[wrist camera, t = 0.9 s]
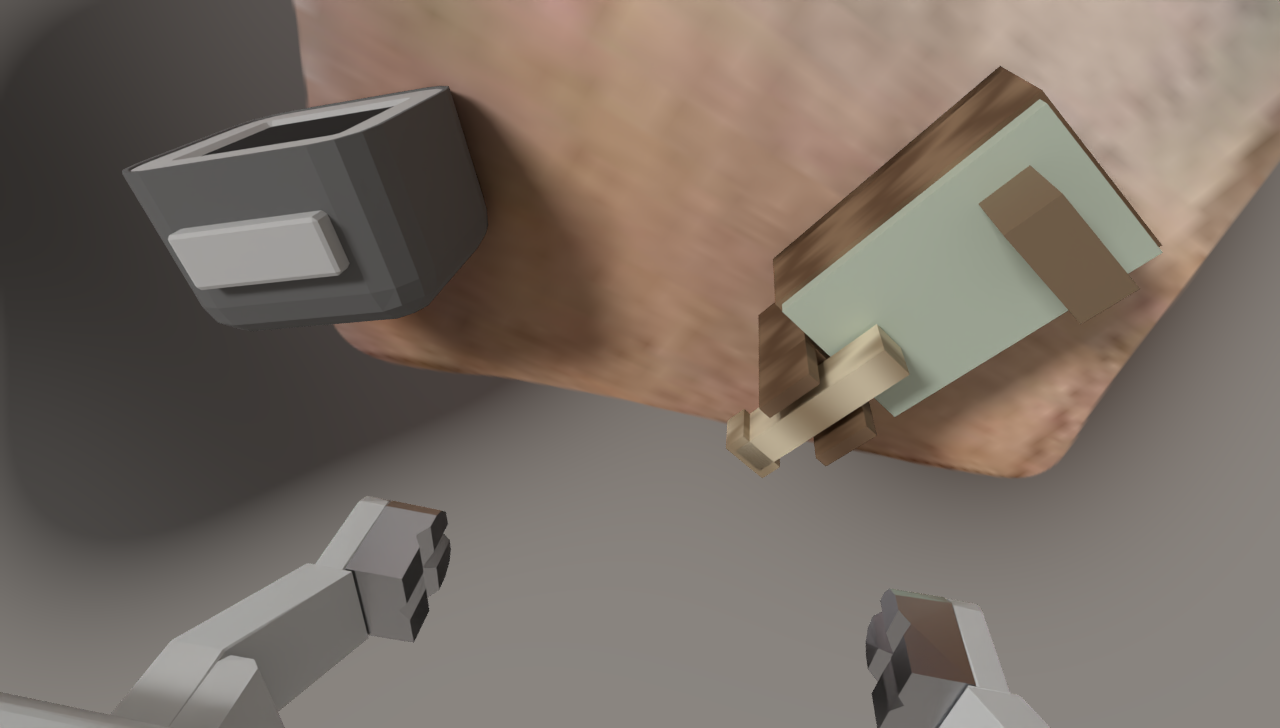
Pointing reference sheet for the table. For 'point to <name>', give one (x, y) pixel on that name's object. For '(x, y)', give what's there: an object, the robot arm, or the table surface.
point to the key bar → (819, 401)
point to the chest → (876, 200)
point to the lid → (982, 259)
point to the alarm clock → (320, 211)
